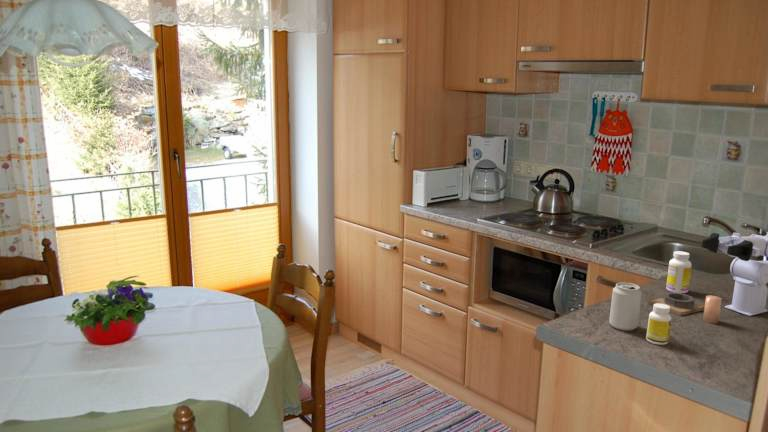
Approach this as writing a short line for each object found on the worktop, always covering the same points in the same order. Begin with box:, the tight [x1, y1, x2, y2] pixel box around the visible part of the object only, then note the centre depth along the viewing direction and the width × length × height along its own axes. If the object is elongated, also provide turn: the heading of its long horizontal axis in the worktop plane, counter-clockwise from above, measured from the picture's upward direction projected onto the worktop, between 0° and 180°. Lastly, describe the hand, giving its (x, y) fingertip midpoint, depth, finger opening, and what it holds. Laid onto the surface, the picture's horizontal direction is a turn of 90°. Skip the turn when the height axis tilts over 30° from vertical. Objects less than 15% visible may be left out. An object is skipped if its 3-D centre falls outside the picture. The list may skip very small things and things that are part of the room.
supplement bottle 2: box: [665, 250, 693, 294], centre depth 208 cm, size 7×7×13 cm
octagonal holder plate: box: [648, 291, 705, 317], centre depth 194 cm, size 13×11×3 cm
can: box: [608, 281, 643, 332], centre depth 176 cm, size 8×8×12 cm
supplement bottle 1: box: [645, 303, 672, 346], centre depth 167 cm, size 5×5×10 cm
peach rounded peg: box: [702, 294, 723, 325], centre depth 183 cm, size 4×4×7 cm
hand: (715, 247), depth 179 cm, fingers open, 7 cm apart
